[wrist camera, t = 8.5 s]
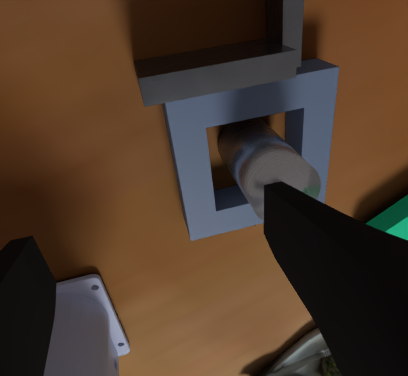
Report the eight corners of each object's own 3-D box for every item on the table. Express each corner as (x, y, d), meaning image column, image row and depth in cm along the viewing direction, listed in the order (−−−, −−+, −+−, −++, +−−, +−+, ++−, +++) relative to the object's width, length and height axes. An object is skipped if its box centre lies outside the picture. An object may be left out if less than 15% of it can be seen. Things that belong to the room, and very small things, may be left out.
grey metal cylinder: (271, 159, 21) (319, 213, 16) (222, 172, 21) (255, 232, 16) (268, 109, 20) (322, 153, 15) (213, 124, 19) (249, 174, 14)
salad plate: (352, 271, 30) (386, 312, 27) (433, 318, 39) (468, 354, 35) (221, 387, 36) (234, 435, 32) (317, 406, 45) (336, 445, 41)
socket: (307, 190, 23) (324, 207, 22) (184, 219, 22) (190, 241, 20) (316, 58, 18) (339, 66, 17) (159, 87, 17) (164, 100, 16)
